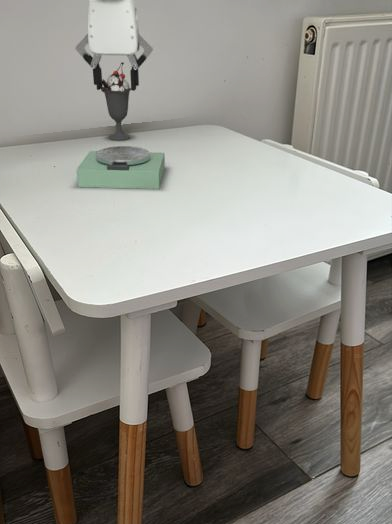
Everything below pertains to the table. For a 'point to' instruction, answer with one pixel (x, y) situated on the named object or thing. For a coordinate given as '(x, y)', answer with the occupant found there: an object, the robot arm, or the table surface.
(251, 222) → the table surface
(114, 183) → the scale
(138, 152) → the scale pan
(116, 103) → the sundae
